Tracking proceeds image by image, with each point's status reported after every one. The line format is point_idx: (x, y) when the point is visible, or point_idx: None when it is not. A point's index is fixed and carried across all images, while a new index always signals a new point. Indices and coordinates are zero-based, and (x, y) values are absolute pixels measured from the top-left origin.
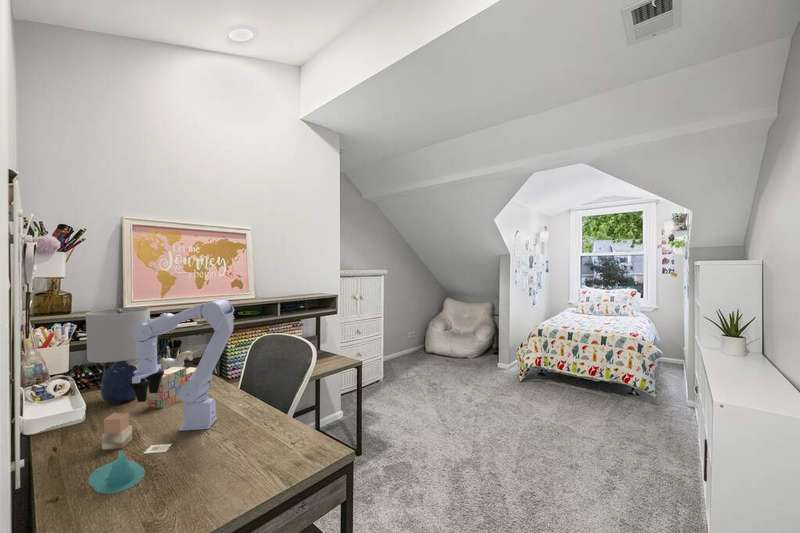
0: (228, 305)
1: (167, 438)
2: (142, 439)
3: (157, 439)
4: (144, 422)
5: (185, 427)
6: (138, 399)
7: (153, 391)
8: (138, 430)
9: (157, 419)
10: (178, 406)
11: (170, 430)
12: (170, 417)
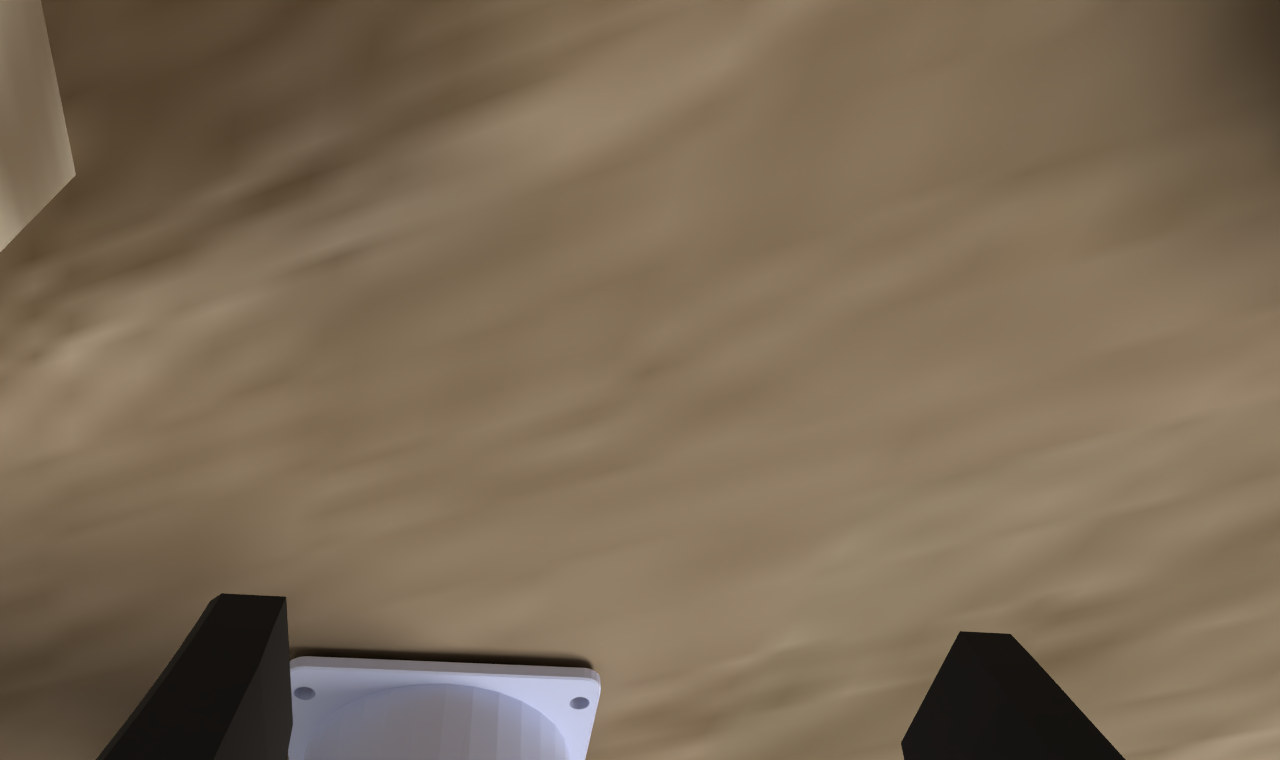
0: None
1: (92, 598)
2: (59, 330)
3: (61, 509)
4: (774, 126)
5: (337, 711)
6: (175, 683)
7: (946, 740)
8: (426, 147)
9: (824, 294)
10: (1245, 427)
11: (339, 564)
12: (822, 445)
